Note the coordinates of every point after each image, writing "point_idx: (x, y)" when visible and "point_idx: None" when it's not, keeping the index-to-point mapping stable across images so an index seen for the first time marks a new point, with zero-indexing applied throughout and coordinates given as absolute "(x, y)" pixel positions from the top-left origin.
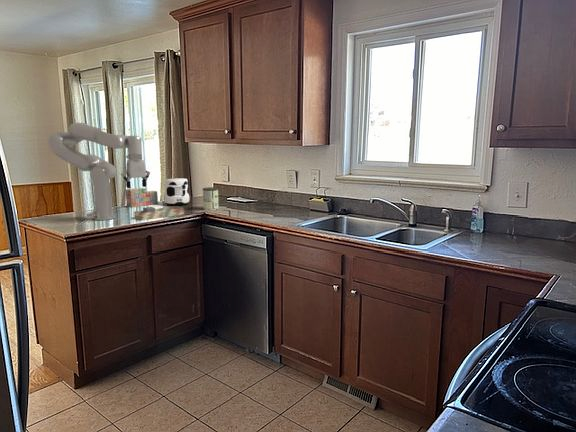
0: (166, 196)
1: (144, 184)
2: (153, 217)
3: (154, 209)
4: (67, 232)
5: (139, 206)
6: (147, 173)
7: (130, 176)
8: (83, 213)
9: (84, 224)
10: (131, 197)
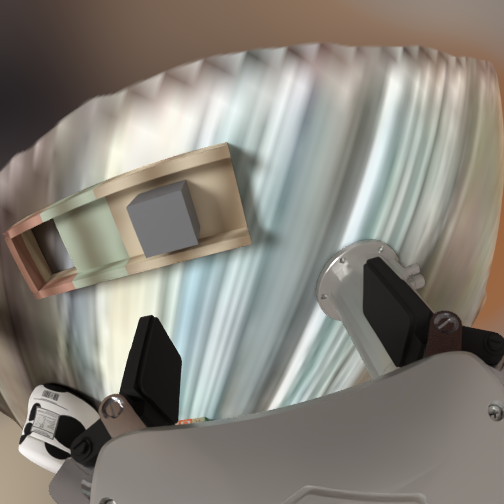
0: (89, 426)
1: (155, 344)
2: (157, 162)
3: (132, 202)
4: (493, 101)
5: (179, 421)
6: (83, 490)
7: (476, 357)
8: (359, 378)
9: (445, 195)
10: None
